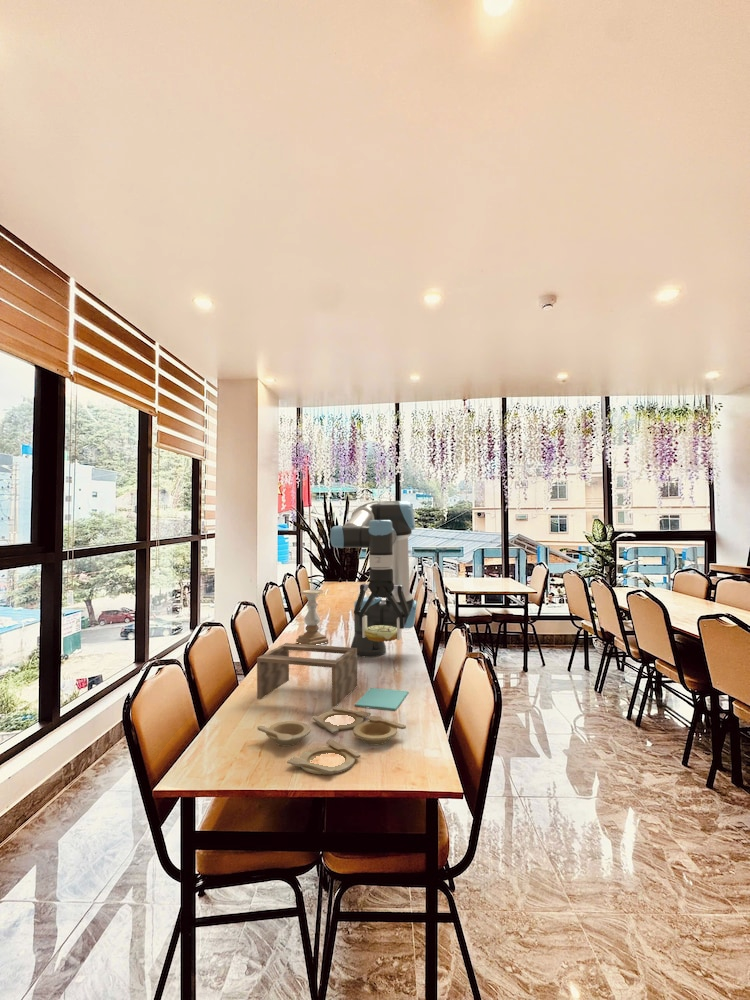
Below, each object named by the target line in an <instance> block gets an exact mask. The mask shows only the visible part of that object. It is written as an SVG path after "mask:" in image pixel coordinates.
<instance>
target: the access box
mask: <svg viewBox="0 0 750 1000" xmlns="http://www.w3.org/2000/svg"><path fill="white" fill-rule="evenodd" d="M289 651H300V652H313V653H314V652H315V653H328V654H341V656H339V657H338V658H337V659H326V658H325V659H324V658H312V657H300V656H290V655H289V653H290V652H289ZM290 665H294V666H307V667H320V668H331V707H332V706H336V705H337V704H338V705H339V704H340V703H341V702H343V699H344V698H345V697H346V696H347V695H348V694H349V693H350V692H351V691H352V690H353V689H354V688H355V687H356V686H357V687H358V656H357V648H351V646H350V647H346V646H332V645H331V646H330V645H306V644H297V643H290V642H289V643H288V642H285V643H283V644H281V645H279V646H277V647H275V648H273V649H272V650H270V651H267V652H266V653H264V654H262V655H259V656H258V657H256V666H257V667H256V692H257V693H256V698H257V699H258V700H261V699H263V698H264V697H266V696H267V695H269V694H271V693H272V692H273V691H275V690H276V689H278V688H279V687H281V686H282V685H284V684H285V683H287V682H288V681H290ZM357 687H356V688H357ZM356 688H355V689H356ZM355 689H354V690H355ZM354 690H353V691H354ZM353 691H352V692H353ZM352 692H351V693H352ZM351 693H350V694H351ZM350 694H349V695H350ZM349 695H348V696H349ZM348 696H347V697H348ZM347 697H346V698H347ZM346 698H345V699H346ZM345 699H344V700H345ZM338 705H337V706H338ZM337 706H336V707H337Z"/></svg>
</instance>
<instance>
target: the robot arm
mask: <svg viewBox="0 0 750 1000" xmlns="http://www.w3.org/2000/svg"><path fill="white" fill-rule="evenodd" d="M415 522H416V521H415V514H414V509H413V504H412V503H411V502H410V501H405V500H389V501H387V500H385V501H371V502H368V503H364V504H362V505H360V506H358V507H357V508H356V509H354V510H353V511H352V513H351V515H350V518H349V519H348V521H347V522H345V523H344V525H335V526H332V528H331V529H330V535H329V538H330V544H331V546H332V547H333V548H338V549H339V548H340V549H344V548H345V549H353V548H357V549H360V548H361V549H369V553H368V554H369V555H368V557H369V562H368V563H369V565H368V566H369V568H370V569H369V570H368V571H369V576H368V577H369V583H368V584H366V583H362V584H360V585H359V594H358V596H357V599H356V600H355V601H354V609H353V614H354V615H353V617H354V619H353V620H354V623H353V624H354V625H353V626H354V635H353V638H352V641H351V645H350V648H357V657H362V656H365V658H367V657H368V658H371V657H379V656H382V655H385V654H386V653H387V646H386V643H385V641H383V642H382V641H380V642H378V641H373V640H369V639H368V638H367V637H366V635H365V629H367V628H368V627H370V626H375V625H386V626H393V627H396V628H397V639H396V640H398V641H400V640H401V639H402V630H403V629H412V628H413V627H414V626H415V624H416V623H415V620H416V614H417V605H418V602H417V601H418V600H415V599H414V595H413V594H411V592H410V564H409V563H410V561H409V559H410V558H409V556H410V555H409V537H410V536H411V535H412V531H413V530H415V529H416V523H415ZM368 589H369V591H370V592H371V593H370V594H369V596H367V597H365V595H366V591H368Z"/></svg>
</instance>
